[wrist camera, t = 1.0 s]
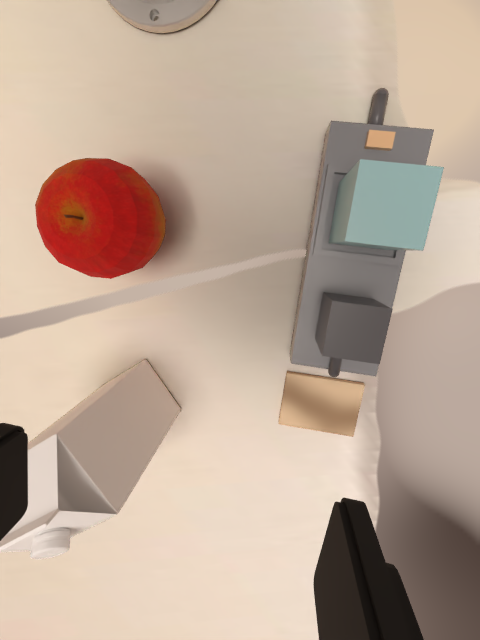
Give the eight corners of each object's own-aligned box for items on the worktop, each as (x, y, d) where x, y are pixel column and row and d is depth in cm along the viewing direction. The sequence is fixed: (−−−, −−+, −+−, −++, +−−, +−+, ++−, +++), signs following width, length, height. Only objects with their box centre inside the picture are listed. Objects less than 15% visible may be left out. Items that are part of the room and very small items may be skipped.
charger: (339, 182, 27) (360, 159, 20) (405, 188, 26) (449, 167, 19) (328, 242, 28) (344, 241, 21) (391, 250, 27) (428, 251, 20)
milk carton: (99, 386, 37) (-77, 523, 19) (146, 357, 36) (5, 475, 17) (134, 435, 38) (-1, 611, 19) (182, 408, 36) (84, 572, 18)
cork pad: (286, 371, 34) (287, 373, 33) (363, 382, 33) (364, 385, 33) (278, 421, 35) (278, 424, 35) (351, 433, 35) (353, 436, 34)
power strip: (333, 88, 28) (354, 26, 20) (428, 95, 27) (488, 34, 19) (289, 357, 34) (292, 390, 26) (366, 369, 33) (393, 406, 25)
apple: (165, 165, 31) (96, 114, 19) (196, 255, 32) (150, 258, 21) (83, 198, 32) (-26, 170, 21) (116, 282, 34) (32, 300, 22)
